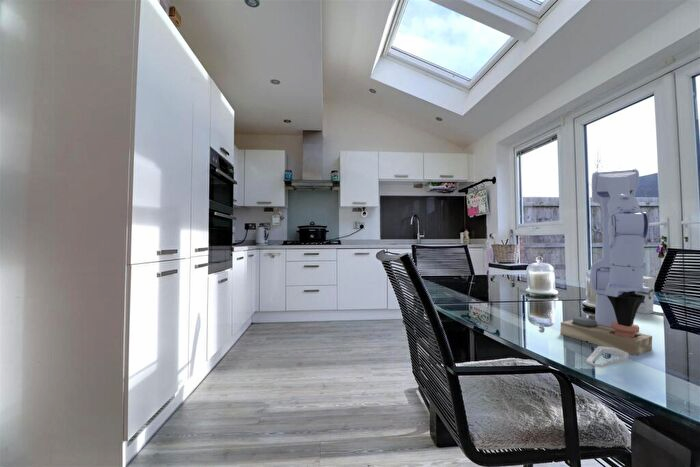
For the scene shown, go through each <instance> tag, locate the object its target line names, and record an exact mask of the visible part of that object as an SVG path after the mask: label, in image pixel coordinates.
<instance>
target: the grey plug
mask: <svg viewBox="0 0 700 467" xmlns="http://www.w3.org/2000/svg"><path fill="white" fill-rule="evenodd" d="M572 320H573V323H575V324H576V325H580V326H584V327H588V328H592V327H594V326H597V321H596V320H595V319H594V318H588V317H582V316H573V317H572Z"/></svg>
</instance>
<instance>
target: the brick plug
mask: <svg viewBox="0 0 700 467" xmlns="http://www.w3.org/2000/svg"><path fill="white" fill-rule="evenodd" d="M633 324H634V323H633ZM633 324H632V326H624V325H620V324H618V322H611V328H613V329H615V334H617V335H621V336H625V337H629V338H635V333H640V327H639V325H638V326H636V325H637V324H635V325H633Z"/></svg>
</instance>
